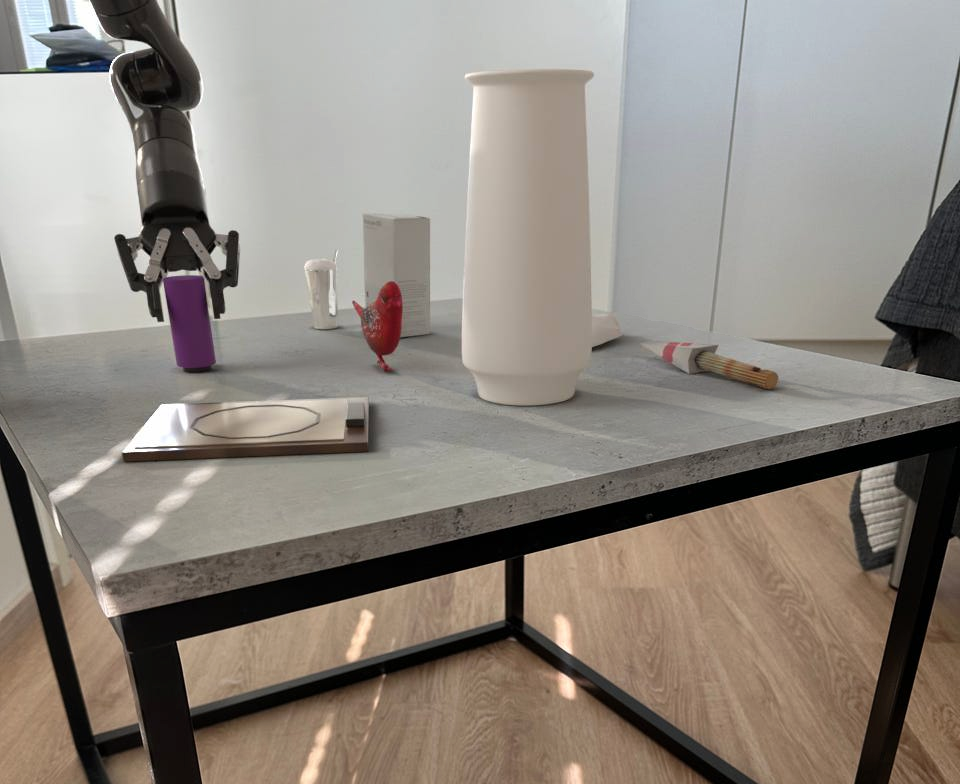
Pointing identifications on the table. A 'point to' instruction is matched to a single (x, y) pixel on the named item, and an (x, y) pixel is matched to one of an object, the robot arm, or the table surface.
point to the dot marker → (190, 322)
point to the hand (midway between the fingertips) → (188, 315)
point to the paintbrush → (710, 362)
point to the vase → (527, 236)
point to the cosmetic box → (399, 264)
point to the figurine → (604, 328)
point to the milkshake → (323, 292)
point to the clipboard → (252, 429)
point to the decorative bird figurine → (382, 321)
